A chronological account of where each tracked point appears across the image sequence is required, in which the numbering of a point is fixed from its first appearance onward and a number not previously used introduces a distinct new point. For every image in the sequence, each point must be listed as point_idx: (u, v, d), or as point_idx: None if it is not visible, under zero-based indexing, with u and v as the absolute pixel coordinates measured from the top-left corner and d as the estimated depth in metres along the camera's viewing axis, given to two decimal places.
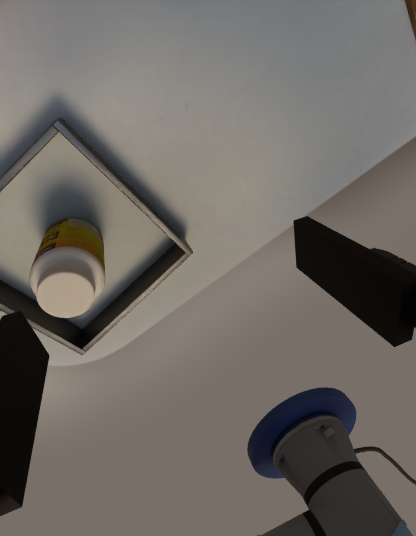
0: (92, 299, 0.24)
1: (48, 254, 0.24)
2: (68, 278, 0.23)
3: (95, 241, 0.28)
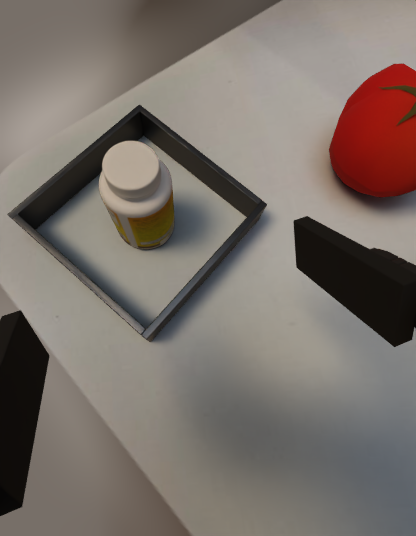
0: (124, 187, 0.21)
1: (166, 167, 0.25)
2: (152, 167, 0.22)
3: (163, 227, 0.27)
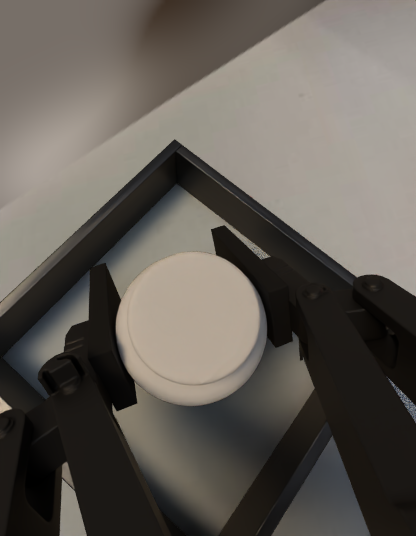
0: (183, 379, 0.09)
1: (253, 286, 0.12)
2: (245, 319, 0.09)
3: None
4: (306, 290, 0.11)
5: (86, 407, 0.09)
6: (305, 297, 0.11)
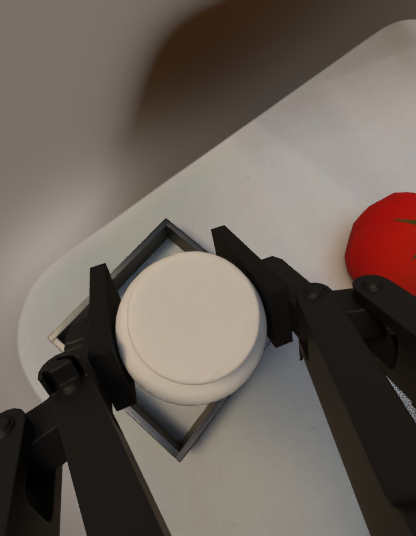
0: (183, 379, 0.09)
1: (253, 286, 0.12)
2: (245, 319, 0.09)
3: None
4: (306, 290, 0.11)
5: (86, 407, 0.09)
6: (305, 297, 0.11)
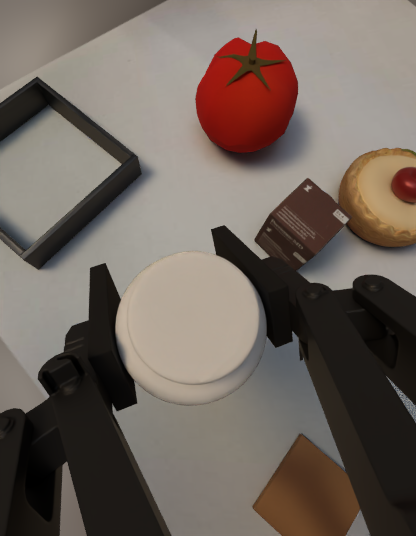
0: (182, 379, 0.09)
1: (253, 286, 0.12)
2: (245, 319, 0.09)
3: None
4: (306, 291, 0.11)
5: (86, 407, 0.09)
6: (305, 297, 0.11)
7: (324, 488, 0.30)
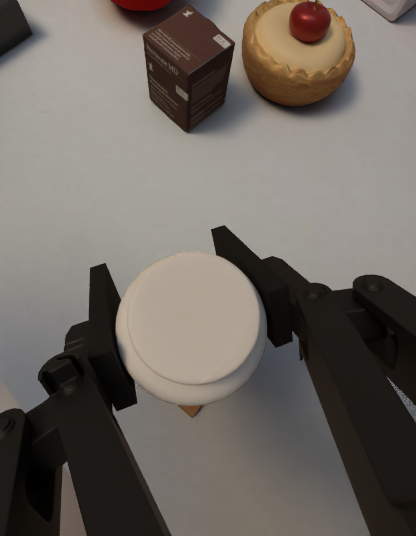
0: (183, 379, 0.09)
1: (253, 286, 0.12)
2: (245, 319, 0.09)
3: None
4: (306, 290, 0.11)
5: (86, 407, 0.09)
6: (305, 297, 0.11)
7: None
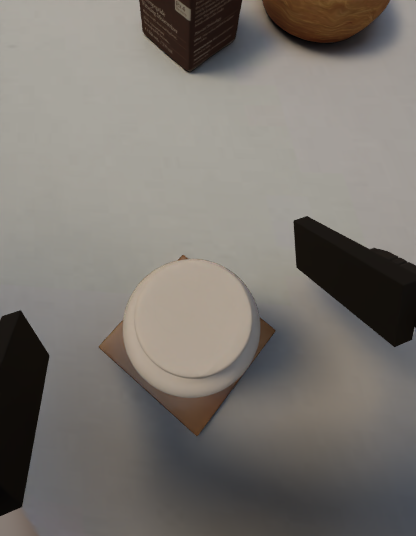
0: (184, 373, 0.10)
1: (248, 289, 0.13)
2: (239, 320, 0.10)
3: None
4: None
5: None
6: None
7: None
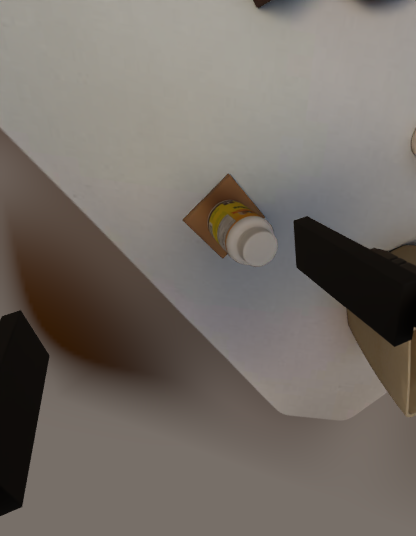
0: (254, 265, 0.33)
1: None
2: (273, 251, 0.33)
3: None
4: None
5: None
6: None
7: None
